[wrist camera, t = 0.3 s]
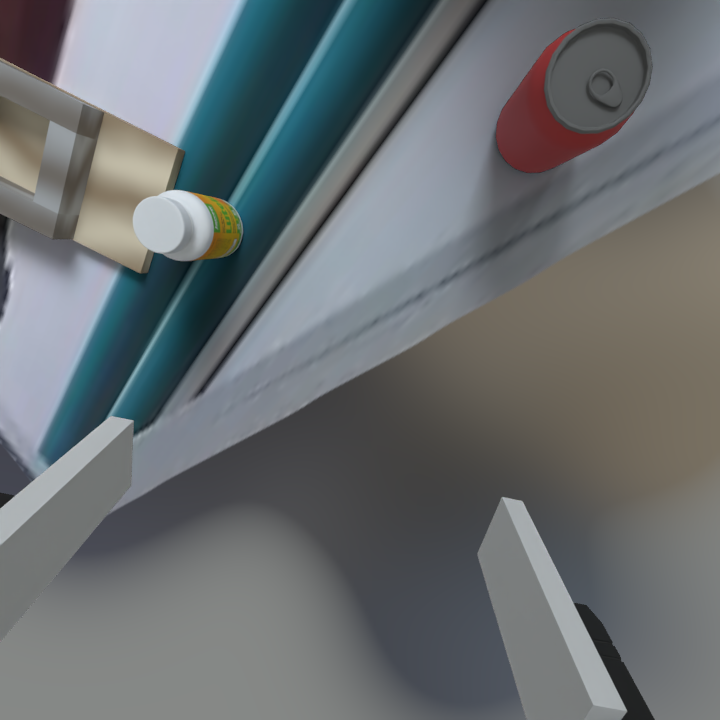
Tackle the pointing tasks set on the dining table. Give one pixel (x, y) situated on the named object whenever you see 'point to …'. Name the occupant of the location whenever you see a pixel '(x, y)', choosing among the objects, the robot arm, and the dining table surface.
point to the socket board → (108, 181)
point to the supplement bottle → (187, 226)
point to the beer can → (575, 95)
